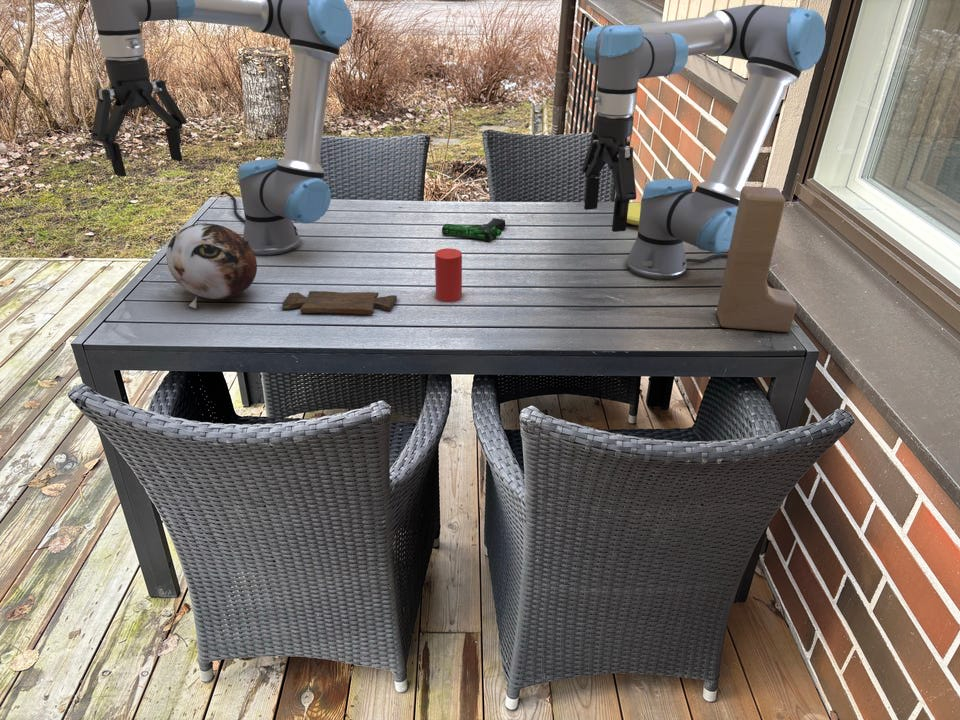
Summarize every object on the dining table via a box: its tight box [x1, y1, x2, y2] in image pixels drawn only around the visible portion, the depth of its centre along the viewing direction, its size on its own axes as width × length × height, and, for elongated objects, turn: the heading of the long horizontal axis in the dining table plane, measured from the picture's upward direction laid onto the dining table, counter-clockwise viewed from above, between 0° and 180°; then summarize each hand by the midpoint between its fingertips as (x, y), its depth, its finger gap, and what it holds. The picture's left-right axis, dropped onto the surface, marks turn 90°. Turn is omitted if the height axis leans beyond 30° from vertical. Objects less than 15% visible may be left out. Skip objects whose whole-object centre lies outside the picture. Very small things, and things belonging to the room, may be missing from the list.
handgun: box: [441, 217, 506, 242], centre depth 207 cm, size 16×3×15 cm
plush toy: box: [165, 222, 258, 309], centre depth 165 cm, size 22×18×20 cm
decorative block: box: [716, 185, 797, 333], centre depth 153 cm, size 8×15×30 cm, turn 82°
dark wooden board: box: [281, 290, 398, 315], centre depth 165 cm, size 26×2×10 cm
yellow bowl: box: [626, 199, 642, 227], centre depth 215 cm, size 16×16×7 cm
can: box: [434, 247, 463, 303], centre depth 168 cm, size 6×6×11 cm
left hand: (149, 167), depth 149 cm, fingers open, 13 cm apart
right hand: (604, 219), depth 149 cm, fingers open, 13 cm apart
